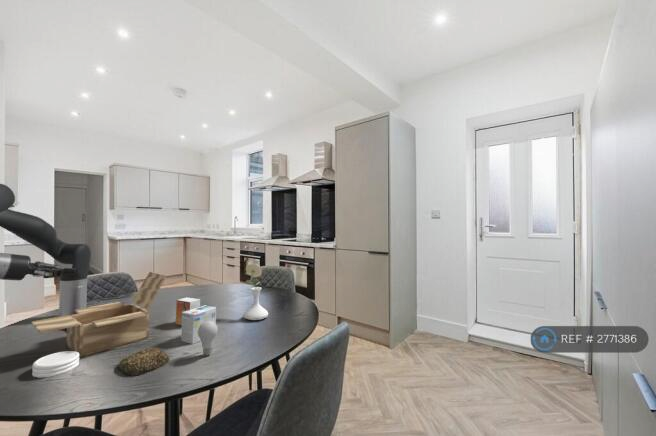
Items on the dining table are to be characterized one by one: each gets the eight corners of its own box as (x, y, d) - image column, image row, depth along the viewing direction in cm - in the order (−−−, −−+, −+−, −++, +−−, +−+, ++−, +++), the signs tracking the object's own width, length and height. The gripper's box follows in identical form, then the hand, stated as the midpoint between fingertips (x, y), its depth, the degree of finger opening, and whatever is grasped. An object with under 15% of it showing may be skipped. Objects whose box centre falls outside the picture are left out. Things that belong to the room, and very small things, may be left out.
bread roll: (127, 380, 78) (127, 362, 79) (115, 366, 87) (115, 349, 87) (176, 364, 88) (176, 347, 88) (161, 352, 96) (161, 337, 96)
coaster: (23, 381, 77) (24, 368, 77) (42, 365, 86) (43, 353, 86) (70, 374, 81) (71, 362, 81) (84, 359, 90) (84, 348, 90)
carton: (27, 349, 96) (28, 317, 96) (126, 325, 119) (127, 300, 120) (42, 374, 81) (44, 336, 81) (154, 341, 104) (155, 312, 104)
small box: (175, 324, 122) (176, 299, 122) (186, 320, 127) (186, 296, 127) (189, 327, 119) (189, 301, 119) (199, 323, 124) (200, 298, 124)
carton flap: (131, 301, 116) (149, 271, 121) (133, 302, 116) (151, 272, 122) (146, 308, 107) (164, 275, 113) (148, 308, 108) (166, 276, 113)
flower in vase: (273, 317, 133) (274, 263, 134) (255, 324, 124) (256, 266, 124) (253, 312, 140) (254, 261, 141) (235, 318, 131) (236, 263, 131)
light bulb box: (204, 331, 114) (204, 304, 115) (216, 334, 111) (217, 306, 112) (180, 341, 105) (180, 311, 105) (192, 344, 102) (193, 314, 102)
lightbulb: (204, 361, 90) (205, 325, 90) (193, 356, 93) (194, 322, 93) (221, 353, 95) (221, 320, 95) (209, 349, 98) (210, 317, 98)
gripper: (14, 258, 80) (87, 266, 95) (3, 249, 87) (73, 257, 102) (2, 285, 79) (78, 288, 93) (-7, 273, 86) (65, 278, 101)
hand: (75, 272), depth 98 cm, fingers closed
